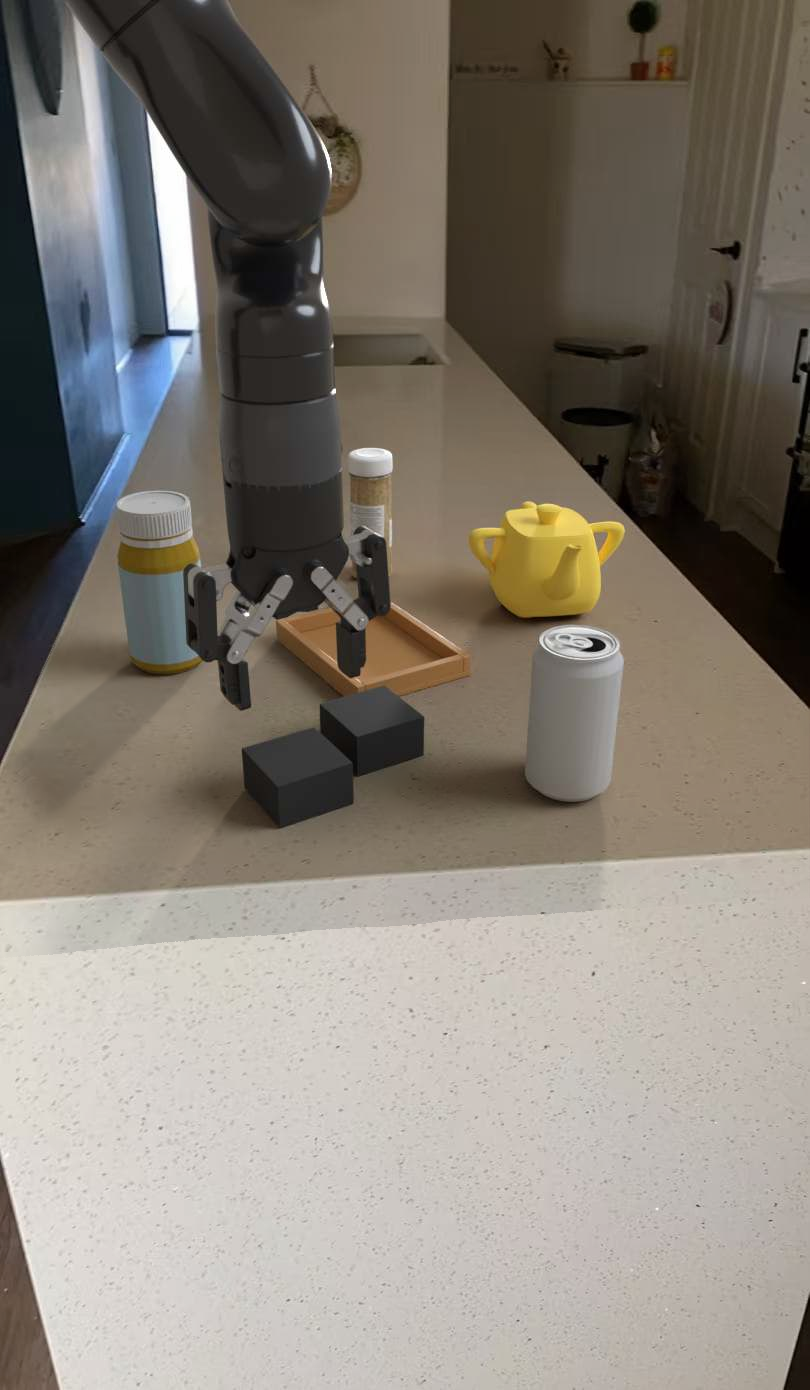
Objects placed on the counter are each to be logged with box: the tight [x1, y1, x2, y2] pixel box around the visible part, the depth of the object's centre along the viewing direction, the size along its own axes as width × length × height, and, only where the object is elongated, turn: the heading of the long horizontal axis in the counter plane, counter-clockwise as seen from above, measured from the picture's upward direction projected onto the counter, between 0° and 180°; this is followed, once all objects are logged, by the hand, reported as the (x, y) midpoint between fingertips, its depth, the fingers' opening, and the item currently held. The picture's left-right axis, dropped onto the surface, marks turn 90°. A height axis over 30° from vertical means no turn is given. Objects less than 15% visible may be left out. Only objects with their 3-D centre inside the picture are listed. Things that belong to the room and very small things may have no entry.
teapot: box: [467, 501, 626, 619], centre depth 109 cm, size 14×13×10 cm
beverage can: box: [524, 624, 625, 803], centre depth 79 cm, size 6×6×12 cm
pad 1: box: [241, 726, 354, 829], centre depth 80 cm, size 6×6×4 cm
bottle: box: [115, 490, 204, 675], centre depth 96 cm, size 7×7×15 cm
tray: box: [275, 601, 472, 697], centre depth 100 cm, size 12×16×2 cm
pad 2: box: [318, 685, 425, 777], centre depth 86 cm, size 6×6×4 cm
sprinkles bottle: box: [347, 447, 394, 579], centre depth 115 cm, size 5×5×13 cm
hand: (295, 688), depth 76 cm, fingers open, 8 cm apart
